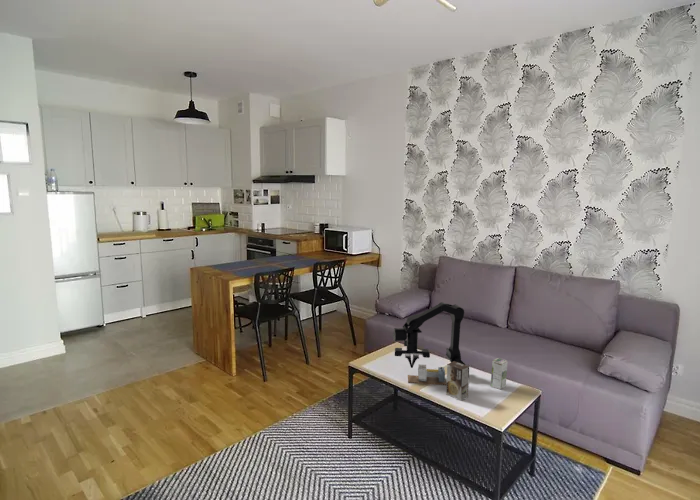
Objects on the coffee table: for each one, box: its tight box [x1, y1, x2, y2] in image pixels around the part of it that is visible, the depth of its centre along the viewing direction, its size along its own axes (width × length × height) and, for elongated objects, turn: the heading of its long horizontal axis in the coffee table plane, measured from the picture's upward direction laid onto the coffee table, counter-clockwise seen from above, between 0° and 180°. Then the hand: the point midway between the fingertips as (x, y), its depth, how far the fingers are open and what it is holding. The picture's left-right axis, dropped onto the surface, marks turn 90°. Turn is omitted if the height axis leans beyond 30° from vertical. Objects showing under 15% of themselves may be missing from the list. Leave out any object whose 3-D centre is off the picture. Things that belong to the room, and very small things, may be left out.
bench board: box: [407, 374, 447, 386], centre depth 226 cm, size 20×8×1 cm, turn 84°
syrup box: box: [490, 357, 509, 390], centre depth 219 cm, size 6×6×14 cm
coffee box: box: [445, 361, 470, 401], centre depth 209 cm, size 9×6×16 cm
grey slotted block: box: [417, 364, 428, 382], centre depth 226 cm, size 4×7×7 cm, turn 174°
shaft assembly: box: [427, 366, 446, 383], centre depth 225 cm, size 13×5×6 cm, turn 84°
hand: (411, 367), depth 229 cm, fingers closed
